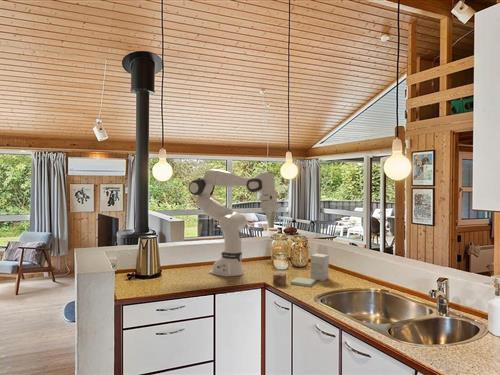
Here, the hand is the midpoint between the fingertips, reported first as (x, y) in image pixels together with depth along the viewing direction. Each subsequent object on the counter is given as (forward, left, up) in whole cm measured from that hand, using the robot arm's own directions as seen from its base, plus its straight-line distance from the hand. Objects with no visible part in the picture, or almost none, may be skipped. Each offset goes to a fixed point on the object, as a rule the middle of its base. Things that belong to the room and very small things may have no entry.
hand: (271, 219), depth 246 cm
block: (+9, -9, -37) cm, 40 cm away
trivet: (+21, 0, -37) cm, 43 cm away
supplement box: (+27, +15, -38) cm, 49 cm away
